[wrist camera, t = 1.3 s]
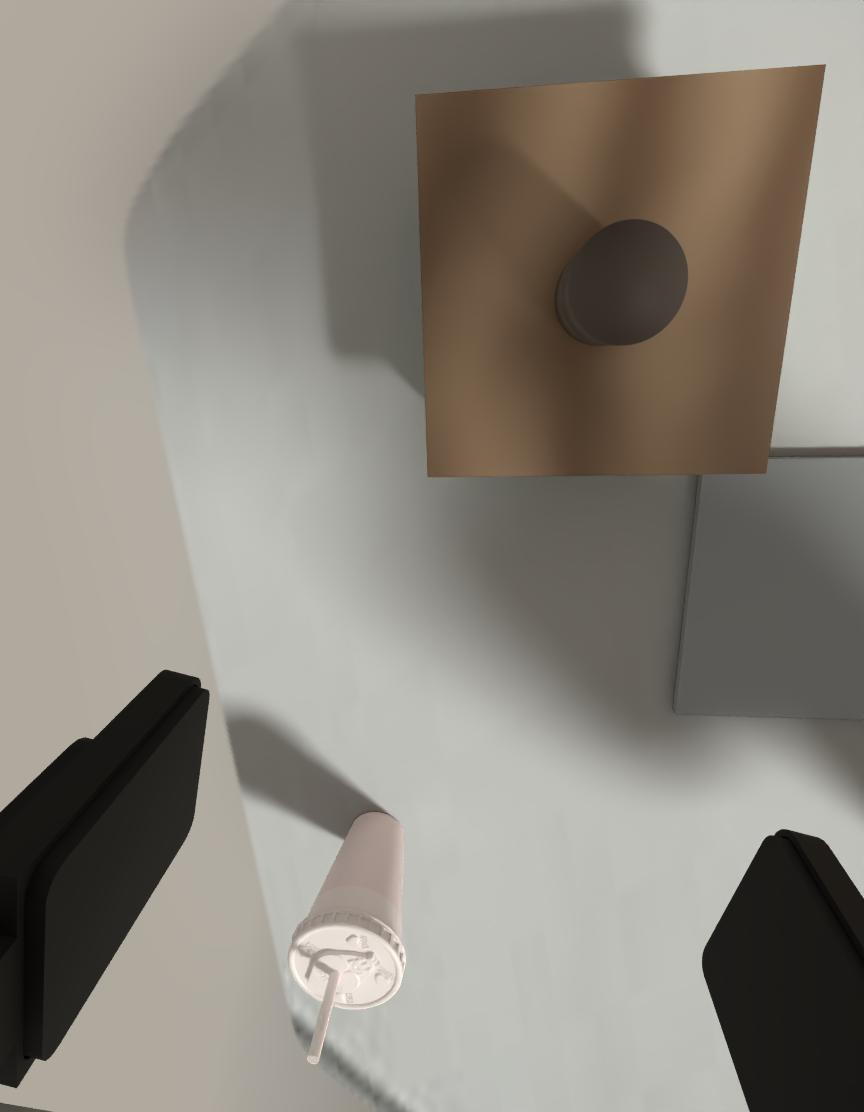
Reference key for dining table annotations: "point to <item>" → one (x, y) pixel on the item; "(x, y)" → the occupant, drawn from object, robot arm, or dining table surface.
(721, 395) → the lid
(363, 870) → the smoothie
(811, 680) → the mat
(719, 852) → the dining table surface
